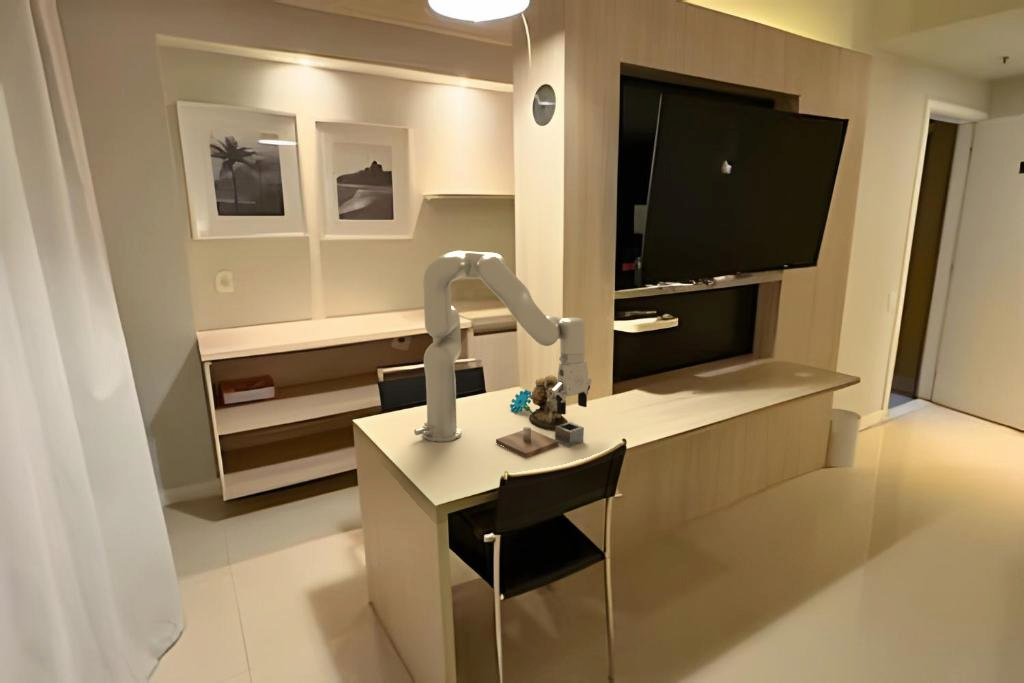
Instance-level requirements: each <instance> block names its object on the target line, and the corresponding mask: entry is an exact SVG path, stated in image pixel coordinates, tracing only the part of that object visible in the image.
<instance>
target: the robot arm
mask: <svg viewBox="0 0 1024 683" xmlns="http://www.w3.org/2000/svg"><path fill="white" fill-rule="evenodd" d="M461 278H466V279H467V278H469V279H480V280H481V282H483V284H485V285H484V286H486V287H487V288H488V289H489V290H490V291H491V292H492V293H493V294H494V295H495V296H496V297H497V298H498V299H499V300H500V301H501V303H503V304H504V306H505V307H506V308H507V310H508V311H509V313H510V314H511V315H512V316H513V318H514V319H515V320H516V321H517V323H518V324H519V325H520V326H521V327H522V328H523V329H524V331H526V333H527V334H528V335H529V336H530V337H531V338H532V339H534V341H535V342H537V343H538V344H539V345H542V346H544V347H549V346H552V345H554V344H555V343H556V342H557V341H558V340H560V341H559V343H560V346H559V348H560V349H559V351H560V352H559V356H560V357H559V361H560V362H559V363H558V364H559V365H558V370H557V377H556V378H557V385H556V386H555V387H554V388H553V389H552V391H551V392H552V394H553V397H554V398H555V400H556V401H557V412H558V413H560V414H562V416H565V415H566V414H567V403H566V402H564V401H565V400H567V397H572V396H575V395H577V405H578V406H580V407H582V408H586V407H587V404H588V403H587V400H588V395H589V390H590V388H591V386H592V385H591V384H592V381H593V380H592V378H590V377H589V370H588V369H589V368H588V364H587V361H586V359H585V354H586V352H585V350H586V349H585V348H586V347H585V344H586V343H585V342H586V335H585V333H586V323H585V321H584V319H583V318H580V317H557V316H553V315H552V316H551V315H550V316H549V315H547V316H546V315H545V314H544V313H543V311H542V310H541V309H540V308H539V306H538V305H537V304H536V303H535V300H533V298H532V295H531V293H530V291H529V289H528V288H527V286H526V285H525V284H524V283H523V282H522V281H521V280H520V279H519V278H518V276H516V275H515V274H514V273H513V272H512V271H511V269H510V268H509V267H508V266H507V263H506V260H505V259H504V257H503V256H502V255H501V254H499V253H495V252H482V251H481V252H479V251H465V250H464V251H463V250H456V251H455V250H454V251H451V252H447V253H444V254H442V255H440V256H438V257H437V258H435V259H434V260H432V261H431V262H430V263H429V264H428V265H427V267H426V268H425V271H424V274H423V282H422V284H423V286H422V287H423V309H424V327H425V331H426V332H427V334H428V335H429V336H431V337H432V343H430V345H429V346H428V347H427V348H426V350H425V352H424V355H423V368H424V375H425V389H426V418H427V419H426V422H424V425H423V426H422V427H419V428H416V429H414V430H413V433H414V435H415V436H419V435H422V437H423V438H424V439H426V440H427V441H429V442H430V441H431V442H435V441H437V443H440V442H441V443H442V441H446V442H450V441H449V440H451V441H454V440H453V439H455V440H457V439H458V438H460V437H461V436H462V429H461V428H460V427H458V426H457V384H456V382H457V379H456V372H455V362H456V361H457V360H458V359H459V357H460V355H461V351H462V340H461V339H462V338H461V318H460V315H459V312H458V311H457V308H456V307H454V306H453V305H452V291H451V284H452V283H453V282H454V281H457V280H459V279H461ZM561 395H563V397H562V398H561ZM460 435H461V436H460ZM459 436H460V437H459ZM456 438H457V439H456Z"/></svg>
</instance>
